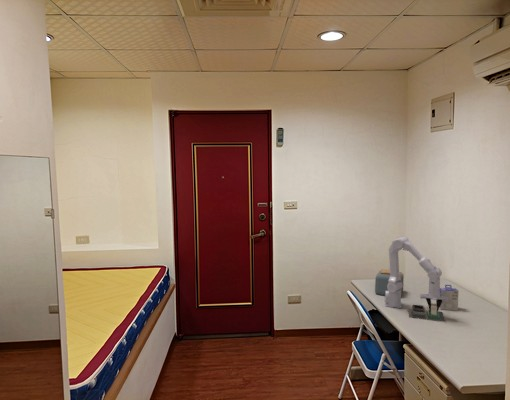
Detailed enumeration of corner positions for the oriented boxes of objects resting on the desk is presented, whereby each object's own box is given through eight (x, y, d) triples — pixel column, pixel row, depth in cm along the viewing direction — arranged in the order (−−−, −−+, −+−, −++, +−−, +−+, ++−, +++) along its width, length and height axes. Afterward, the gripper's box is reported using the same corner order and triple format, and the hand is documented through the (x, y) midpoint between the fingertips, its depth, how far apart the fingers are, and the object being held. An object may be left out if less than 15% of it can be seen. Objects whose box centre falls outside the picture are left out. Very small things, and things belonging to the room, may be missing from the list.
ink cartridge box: (455, 307, 222) (456, 284, 221) (458, 310, 217) (459, 287, 215) (438, 306, 224) (439, 283, 223) (440, 309, 219) (441, 286, 217)
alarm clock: (403, 291, 250) (404, 269, 249) (399, 299, 237) (399, 275, 235) (379, 287, 259) (380, 266, 258) (374, 294, 245) (374, 272, 244)
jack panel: (408, 317, 208) (409, 310, 208) (407, 308, 221) (407, 302, 220) (445, 321, 202) (445, 314, 201) (442, 312, 214) (442, 306, 214)
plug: (430, 315, 208) (431, 305, 207) (430, 312, 212) (430, 303, 211) (436, 316, 207) (437, 306, 206) (435, 313, 211) (436, 303, 210)
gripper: (421, 289, 207) (420, 312, 208) (449, 292, 202) (448, 315, 203) (420, 285, 214) (419, 307, 215) (447, 288, 209) (446, 310, 210)
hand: (433, 311), depth 210 cm, fingers closed on plug, 3 cm apart
